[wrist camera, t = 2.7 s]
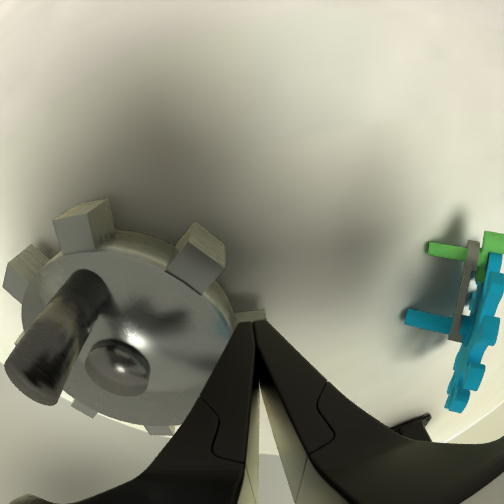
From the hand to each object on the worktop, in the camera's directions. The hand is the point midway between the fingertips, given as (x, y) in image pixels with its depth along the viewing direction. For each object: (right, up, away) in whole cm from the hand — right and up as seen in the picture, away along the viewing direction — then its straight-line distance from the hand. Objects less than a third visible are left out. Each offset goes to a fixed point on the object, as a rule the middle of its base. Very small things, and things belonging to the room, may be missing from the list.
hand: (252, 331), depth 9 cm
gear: (+13, 0, +7) cm, 15 cm away
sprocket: (-6, -1, +6) cm, 9 cm away
